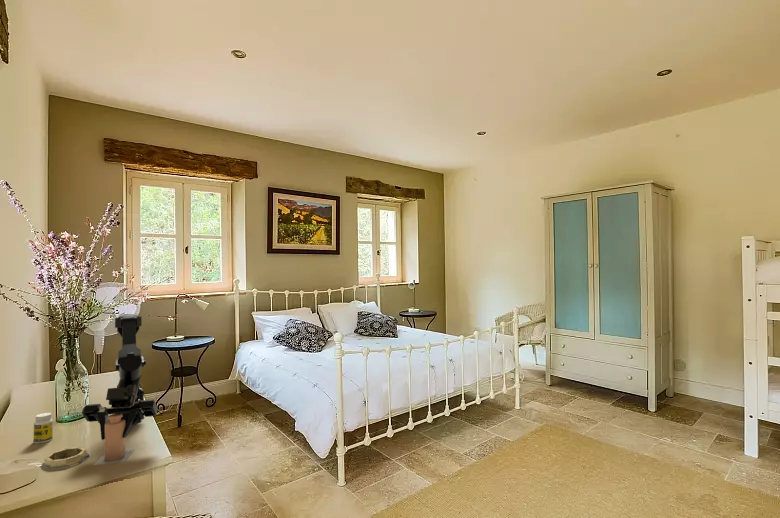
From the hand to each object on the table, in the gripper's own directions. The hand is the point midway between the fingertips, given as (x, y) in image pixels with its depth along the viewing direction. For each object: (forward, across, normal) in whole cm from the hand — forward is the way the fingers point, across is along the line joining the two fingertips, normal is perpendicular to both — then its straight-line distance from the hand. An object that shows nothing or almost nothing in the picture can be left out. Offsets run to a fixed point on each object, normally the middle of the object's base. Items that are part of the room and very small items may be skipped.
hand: (113, 438), depth 118 cm
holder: (+3, -13, +6) cm, 15 cm away
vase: (+3, 0, +5) cm, 6 cm away
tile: (+4, 0, +6) cm, 7 cm away
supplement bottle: (-11, -28, +21) cm, 37 cm away
